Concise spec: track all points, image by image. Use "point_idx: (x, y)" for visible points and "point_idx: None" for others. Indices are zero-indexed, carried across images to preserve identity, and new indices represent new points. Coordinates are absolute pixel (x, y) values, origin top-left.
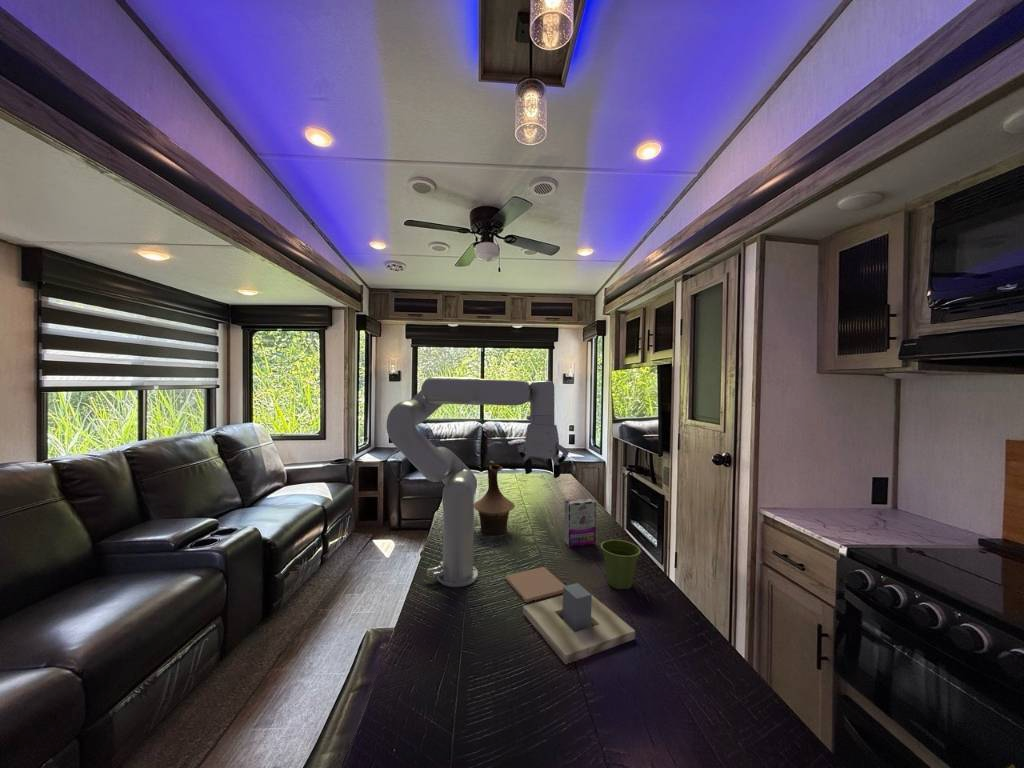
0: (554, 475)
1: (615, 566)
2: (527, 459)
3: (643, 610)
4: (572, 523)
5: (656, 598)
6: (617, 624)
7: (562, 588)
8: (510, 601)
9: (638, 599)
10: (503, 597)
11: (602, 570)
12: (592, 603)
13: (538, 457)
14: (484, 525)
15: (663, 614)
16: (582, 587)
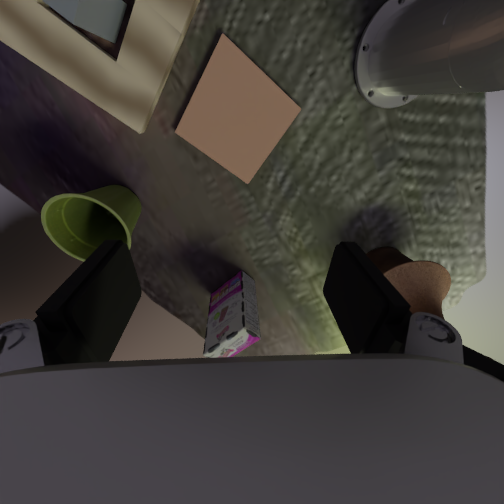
0: (108, 247)
1: (92, 192)
2: (402, 338)
3: (44, 141)
4: (237, 300)
5: (54, 190)
6: (13, 27)
7: (182, 124)
8: (254, 19)
9: (71, 172)
10: (274, 27)
11: (164, 229)
12: (98, 85)
13: (243, 358)
14: (400, 254)
15: (15, 147)
16: (46, 2)
